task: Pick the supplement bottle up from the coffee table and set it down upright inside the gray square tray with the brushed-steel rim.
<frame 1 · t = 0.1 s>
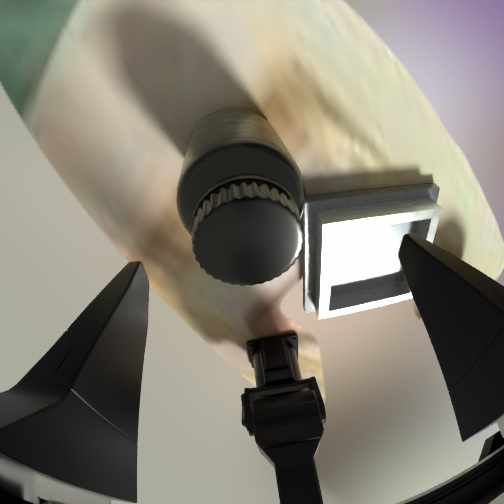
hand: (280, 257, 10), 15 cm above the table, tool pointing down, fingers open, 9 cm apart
gray square tray: (367, 249, 29), on the table
supplement bottle: (233, 149, 22), on the table
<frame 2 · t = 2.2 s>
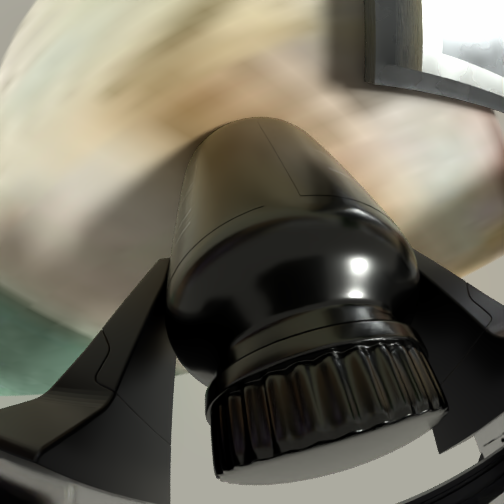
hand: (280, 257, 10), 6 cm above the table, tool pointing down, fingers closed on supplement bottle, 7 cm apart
supplement bottle: (258, 181, 14), on the table, touching gripper
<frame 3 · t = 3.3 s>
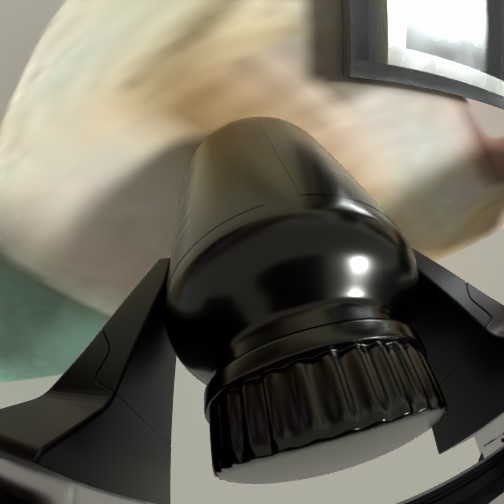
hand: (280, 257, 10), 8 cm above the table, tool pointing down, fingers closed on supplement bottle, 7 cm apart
supplement bottle: (258, 181, 14), point 3 cm above the table, touching gripper
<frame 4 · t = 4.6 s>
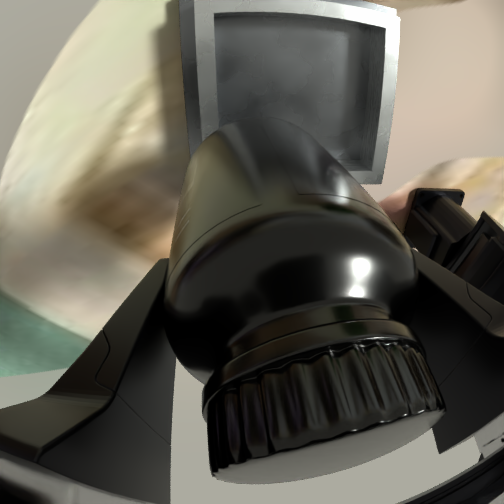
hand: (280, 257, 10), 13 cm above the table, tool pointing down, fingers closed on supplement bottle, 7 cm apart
gray square tray: (293, 88, 17), on the table
supplement bottle: (258, 180, 14), point 7 cm above the table, touching gripper
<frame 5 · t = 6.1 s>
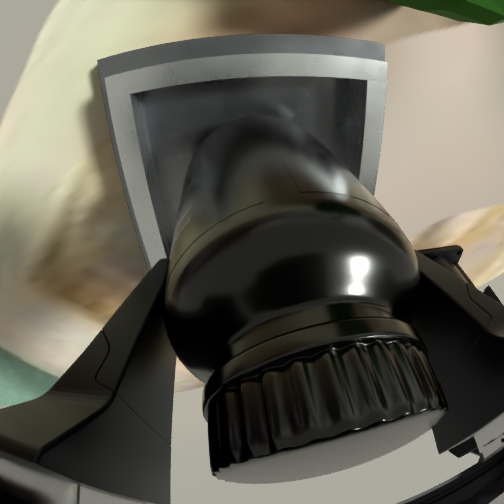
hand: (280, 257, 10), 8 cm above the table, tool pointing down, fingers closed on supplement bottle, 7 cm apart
gray square tray: (251, 162, 16), on the table
supplement bottle: (259, 179, 14), point 2 cm above the table, touching gripper
when the fingers open (8 cm above the table, at t = 7.0 s): supplement bottle drops 1 cm, resting on gray square tray.
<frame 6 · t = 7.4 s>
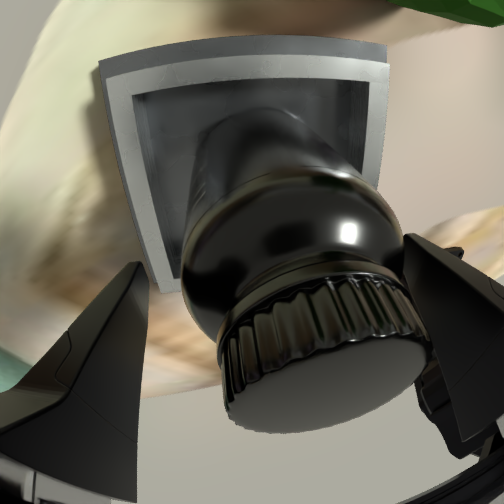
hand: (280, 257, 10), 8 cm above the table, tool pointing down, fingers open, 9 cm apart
gray square tray: (252, 164, 16), on the table
supplement bottle: (260, 169, 15), point 1 cm above the table, touching gray square tray
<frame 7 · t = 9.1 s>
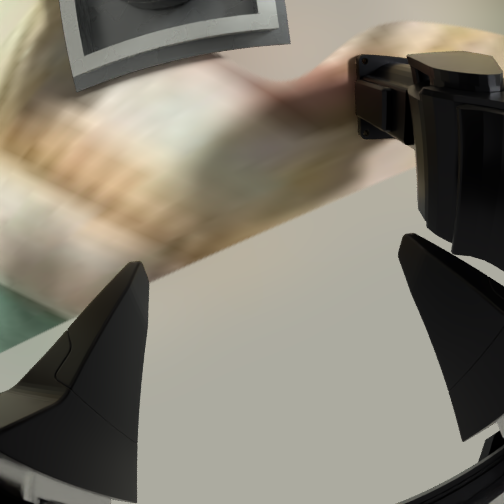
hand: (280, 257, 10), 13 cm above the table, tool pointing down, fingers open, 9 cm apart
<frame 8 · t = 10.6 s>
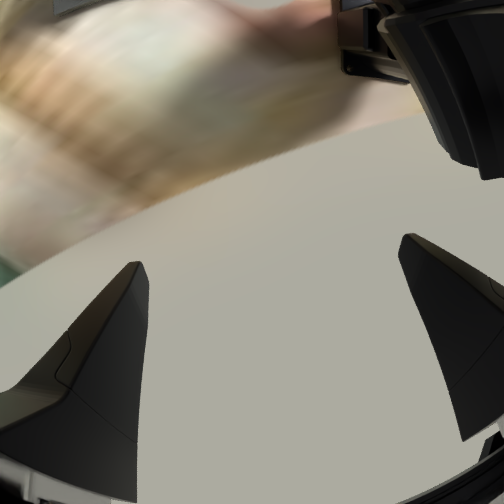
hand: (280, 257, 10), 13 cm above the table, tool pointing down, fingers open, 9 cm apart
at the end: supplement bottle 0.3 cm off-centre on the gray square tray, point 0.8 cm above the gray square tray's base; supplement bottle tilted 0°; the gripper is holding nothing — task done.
